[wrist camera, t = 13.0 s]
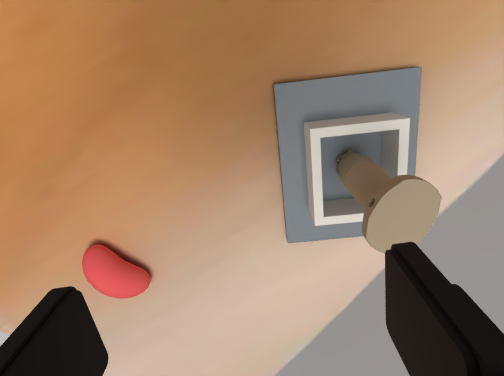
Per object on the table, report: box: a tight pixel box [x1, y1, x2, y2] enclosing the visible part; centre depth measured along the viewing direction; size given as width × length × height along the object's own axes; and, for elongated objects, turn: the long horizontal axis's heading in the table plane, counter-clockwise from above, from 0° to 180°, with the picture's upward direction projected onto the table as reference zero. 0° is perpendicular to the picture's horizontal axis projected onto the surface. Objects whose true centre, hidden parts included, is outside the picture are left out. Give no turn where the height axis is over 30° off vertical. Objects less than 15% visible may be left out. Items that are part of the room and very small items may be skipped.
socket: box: [273, 67, 422, 243], centre depth 37 cm, size 20×16×6 cm
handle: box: [336, 150, 441, 253], centre depth 32 cm, size 5×6×15 cm
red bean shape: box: [82, 245, 150, 298], centre depth 44 cm, size 5×9×6 cm
